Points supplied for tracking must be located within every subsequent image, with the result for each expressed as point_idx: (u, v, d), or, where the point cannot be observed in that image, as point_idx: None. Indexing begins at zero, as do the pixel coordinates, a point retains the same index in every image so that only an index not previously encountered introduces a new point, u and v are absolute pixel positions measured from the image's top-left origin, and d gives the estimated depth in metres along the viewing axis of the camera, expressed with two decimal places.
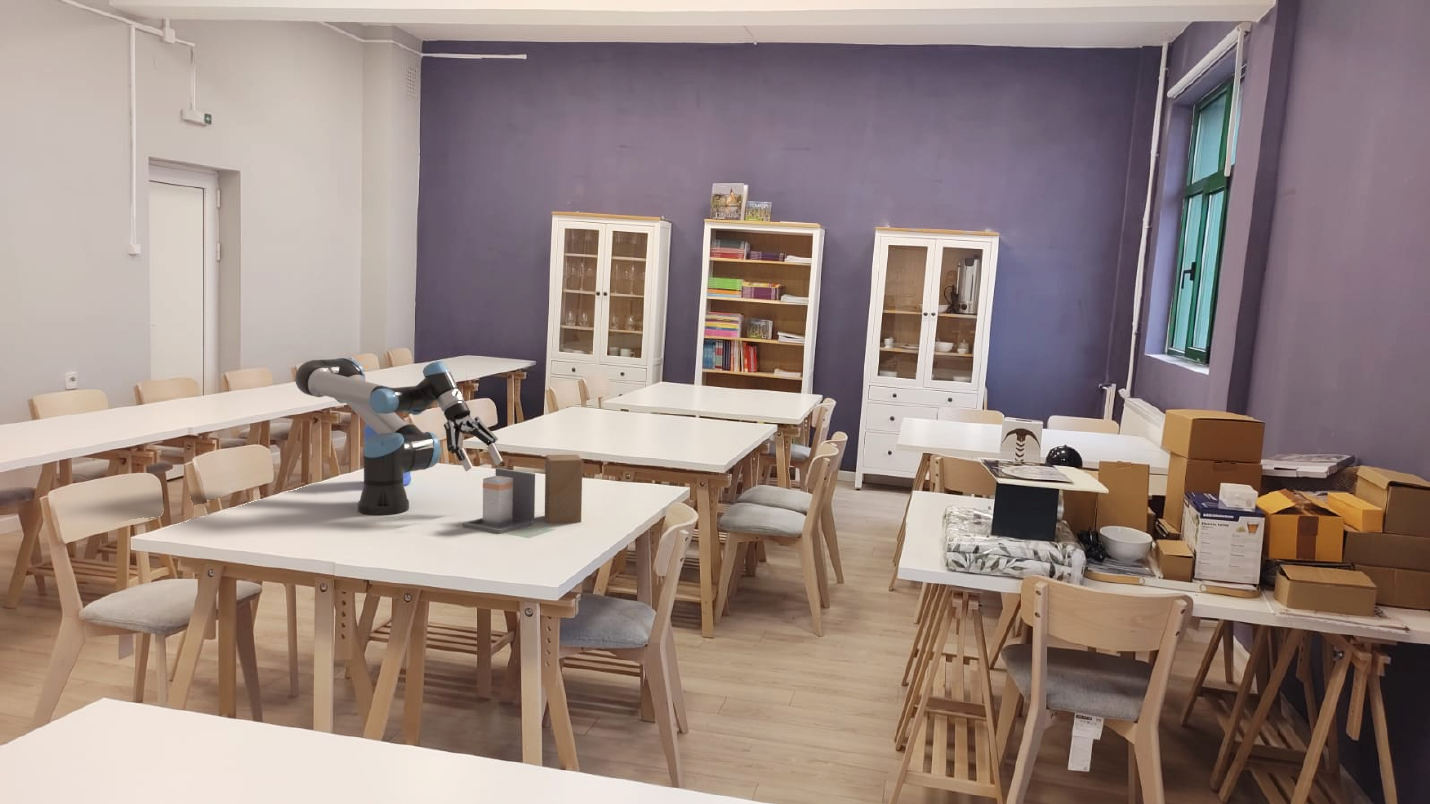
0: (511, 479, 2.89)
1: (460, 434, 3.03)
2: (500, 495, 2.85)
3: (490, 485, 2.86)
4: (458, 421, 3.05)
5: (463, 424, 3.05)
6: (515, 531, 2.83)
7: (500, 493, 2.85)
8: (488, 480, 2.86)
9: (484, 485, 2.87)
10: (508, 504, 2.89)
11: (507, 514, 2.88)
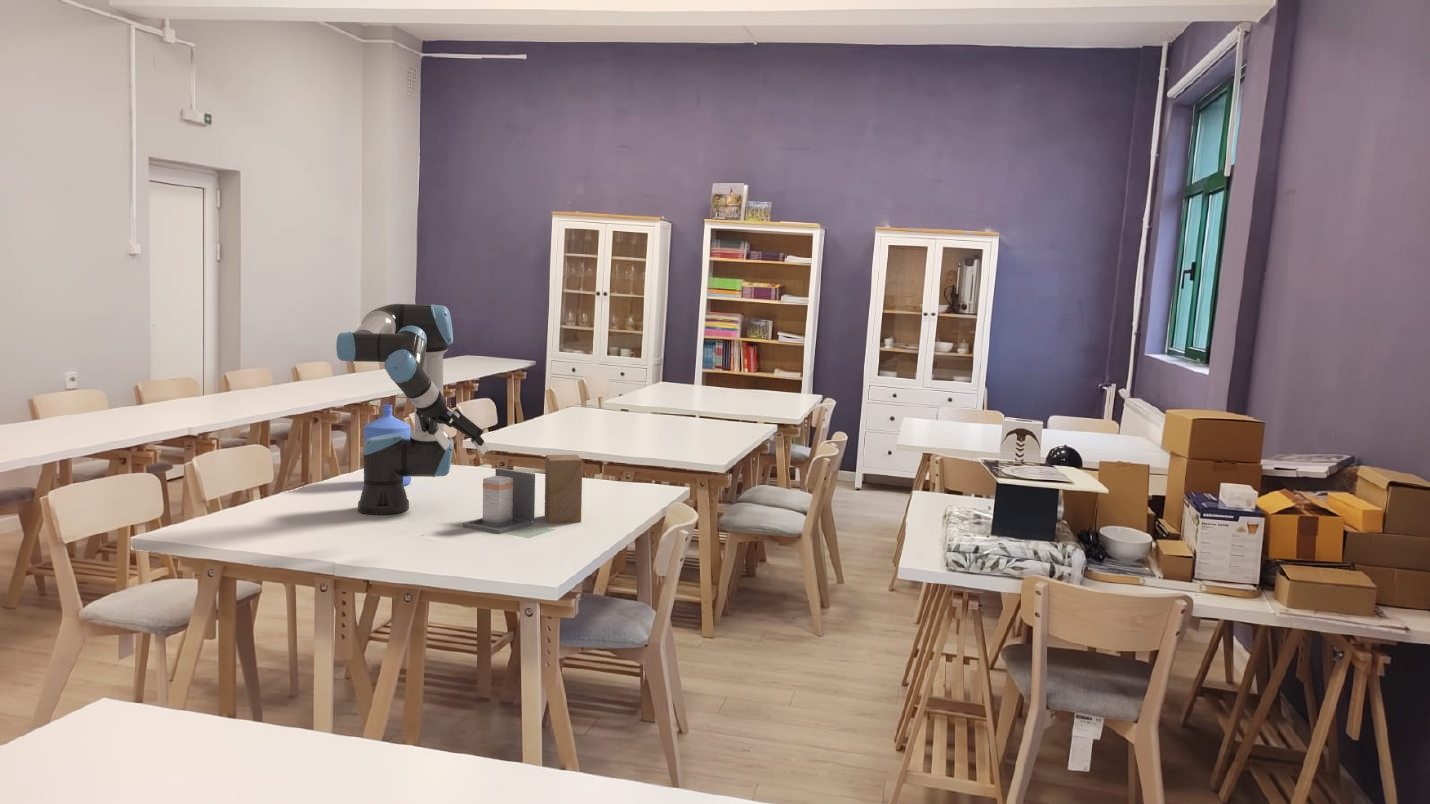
0: (511, 479, 2.89)
1: (431, 424, 2.69)
2: (500, 495, 2.85)
3: (490, 485, 2.86)
4: None
5: (431, 420, 2.65)
6: (515, 531, 2.83)
7: (500, 493, 2.85)
8: (488, 480, 2.86)
9: (484, 485, 2.87)
10: (508, 504, 2.89)
11: (507, 514, 2.88)
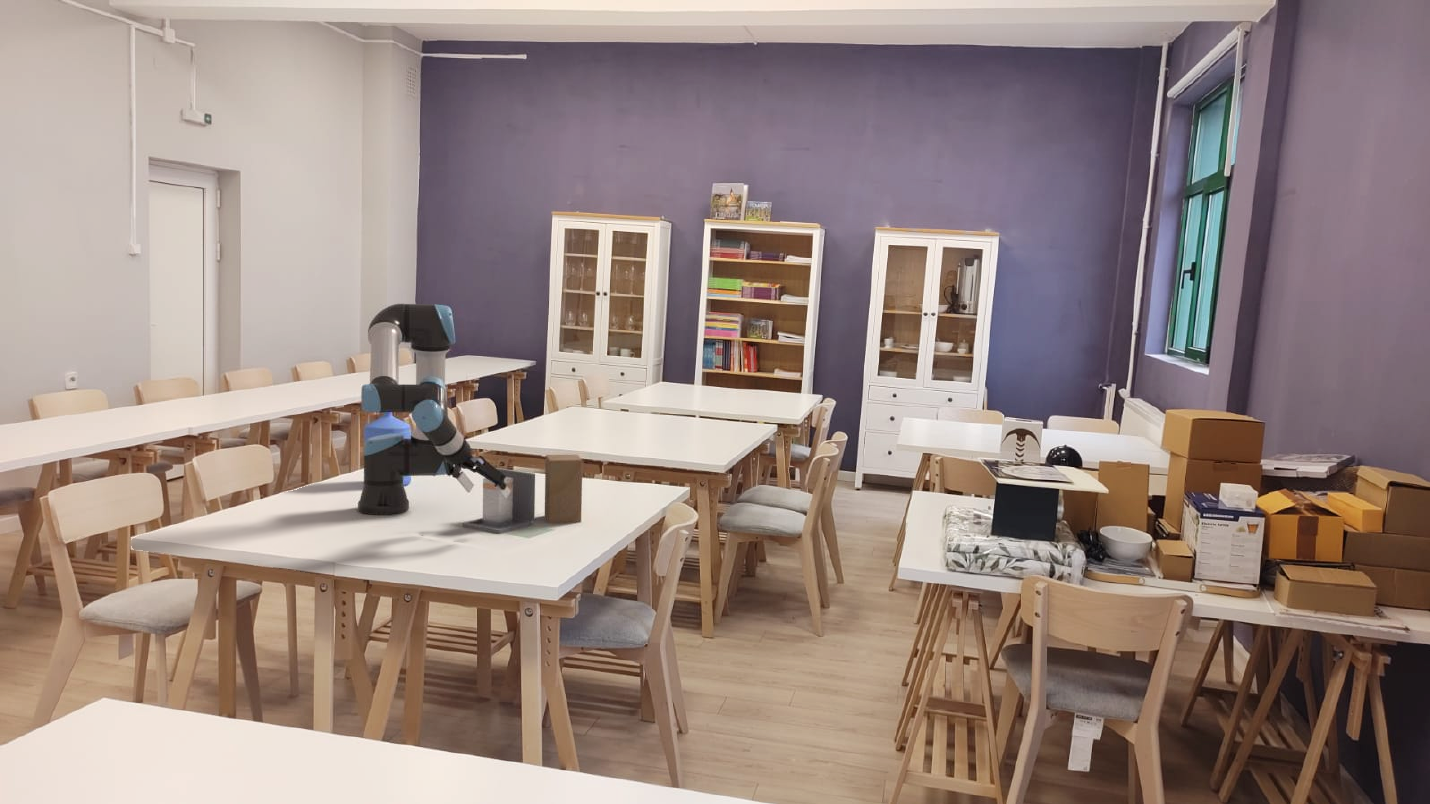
0: (511, 479, 2.89)
1: (455, 469, 2.78)
2: (500, 495, 2.85)
3: (490, 485, 2.86)
4: None
5: (456, 466, 2.74)
6: (515, 531, 2.83)
7: None
8: (488, 480, 2.86)
9: (484, 485, 2.87)
10: (508, 504, 2.89)
11: (507, 514, 2.88)
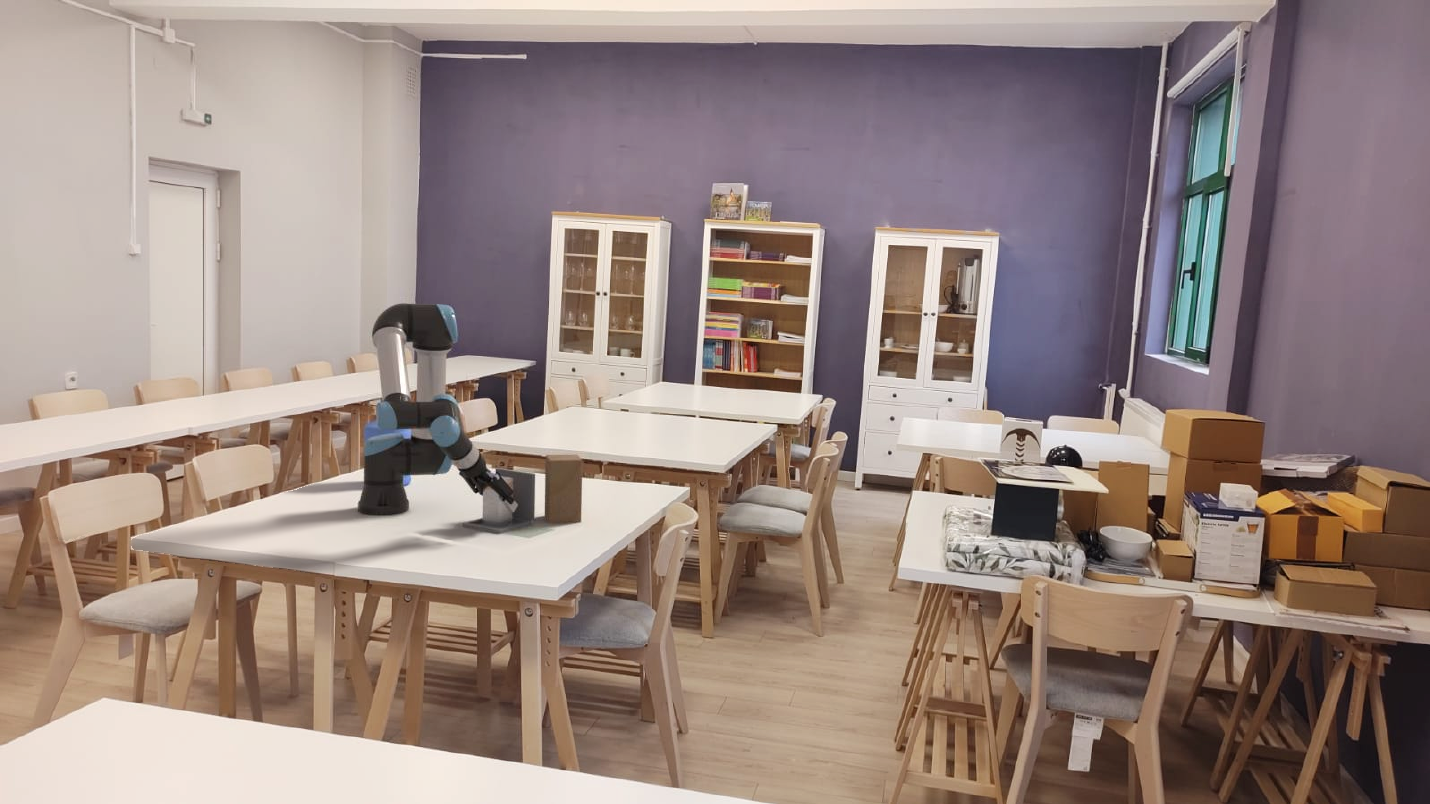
0: (511, 479, 2.89)
1: (476, 485, 2.85)
2: None
3: None
4: None
5: (472, 479, 2.81)
6: (515, 531, 2.83)
7: None
8: None
9: (484, 485, 2.87)
10: None
11: (507, 514, 2.88)
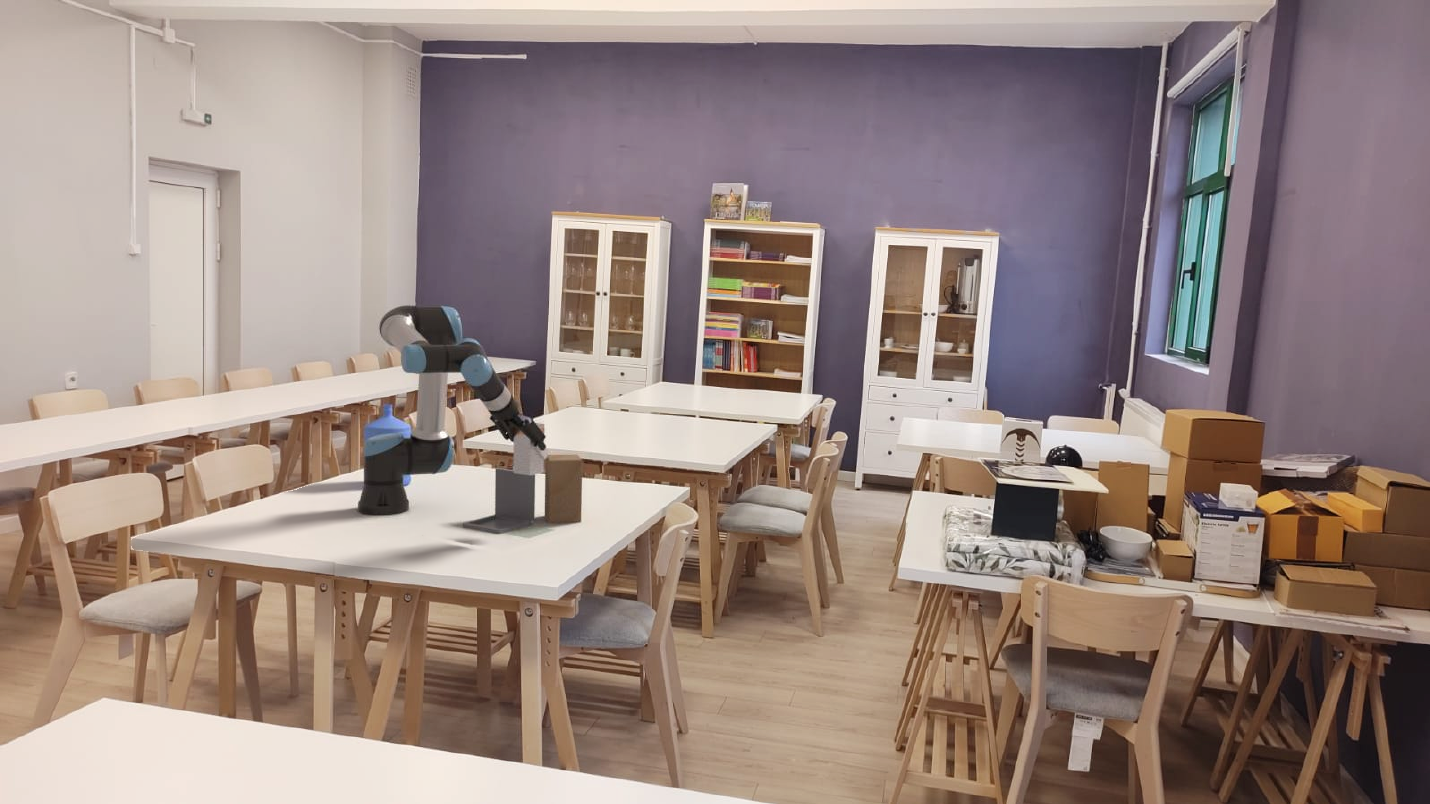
0: (542, 425, 2.81)
1: (507, 430, 2.77)
2: None
3: (521, 431, 2.78)
4: None
5: (504, 423, 2.74)
6: (515, 531, 2.83)
7: None
8: None
9: (515, 431, 2.79)
10: None
11: (538, 461, 2.81)
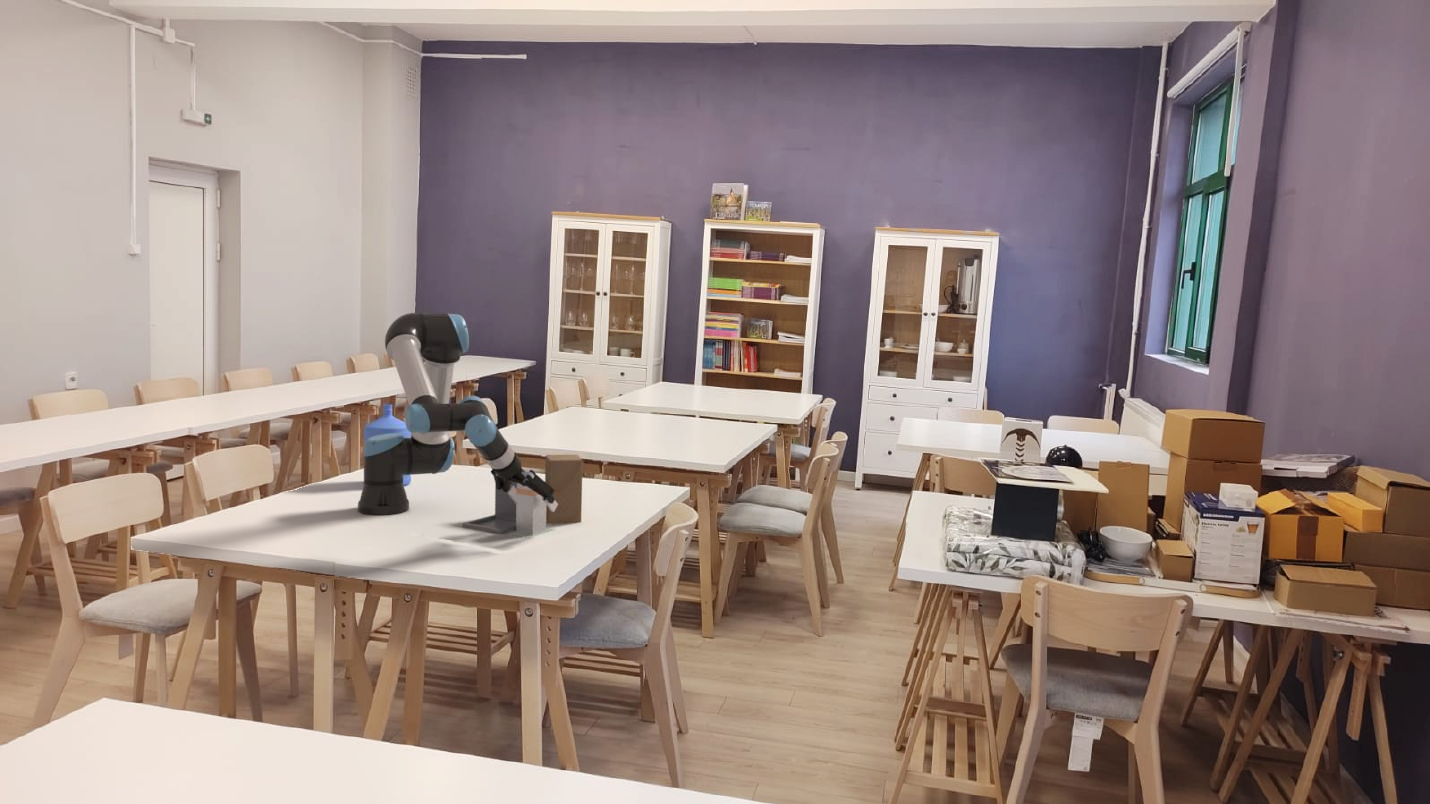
0: None
1: (505, 483, 2.79)
2: (534, 500, 2.79)
3: (524, 491, 2.80)
4: None
5: (506, 479, 2.75)
6: (515, 531, 2.83)
7: (535, 499, 2.79)
8: None
9: (518, 490, 2.81)
10: (542, 510, 2.83)
11: (541, 520, 2.83)
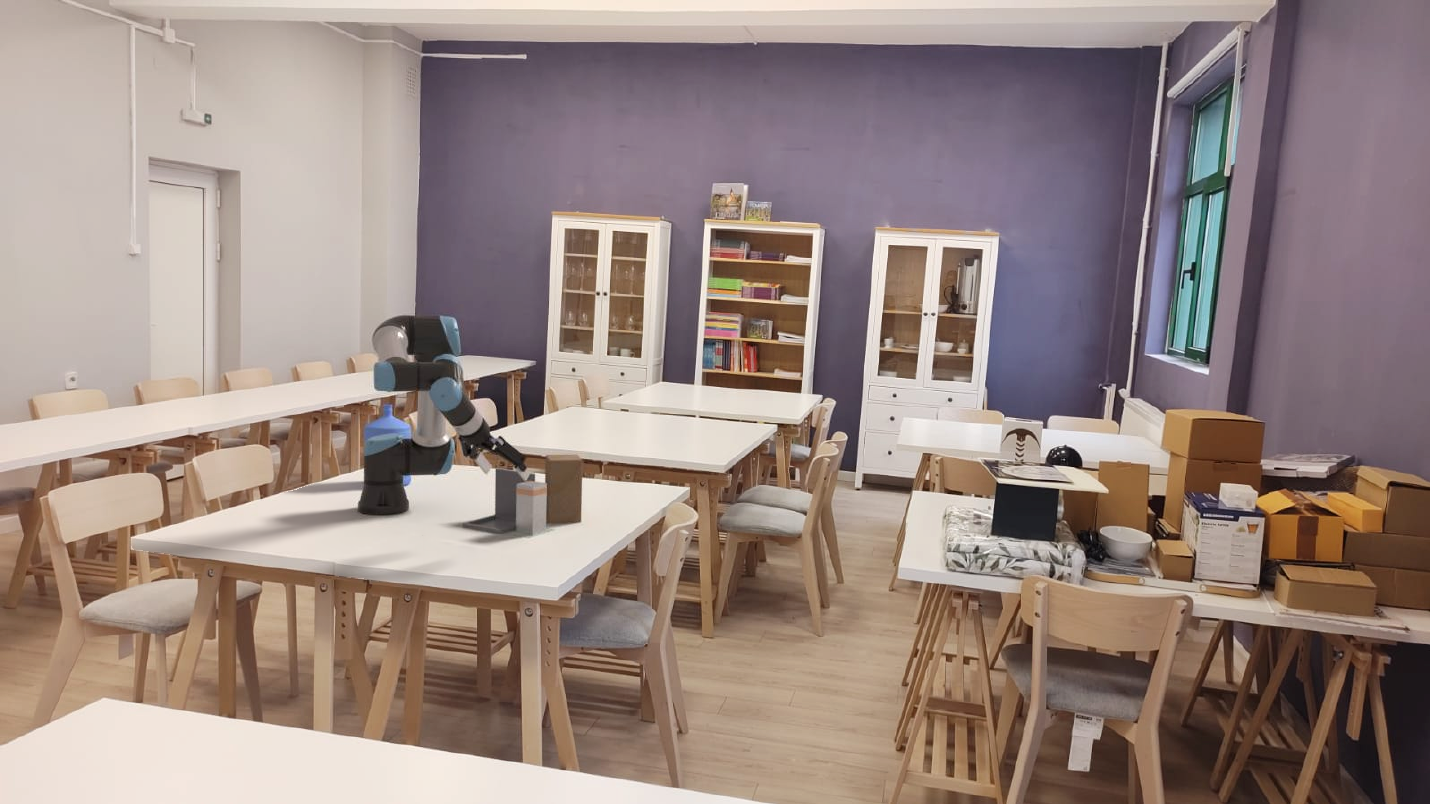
0: (545, 484, 2.83)
1: (473, 450, 2.66)
2: (534, 500, 2.79)
3: (524, 491, 2.80)
4: None
5: (474, 446, 2.62)
6: (515, 531, 2.83)
7: (535, 499, 2.79)
8: (522, 485, 2.80)
9: (518, 490, 2.81)
10: (542, 510, 2.83)
11: (541, 520, 2.83)
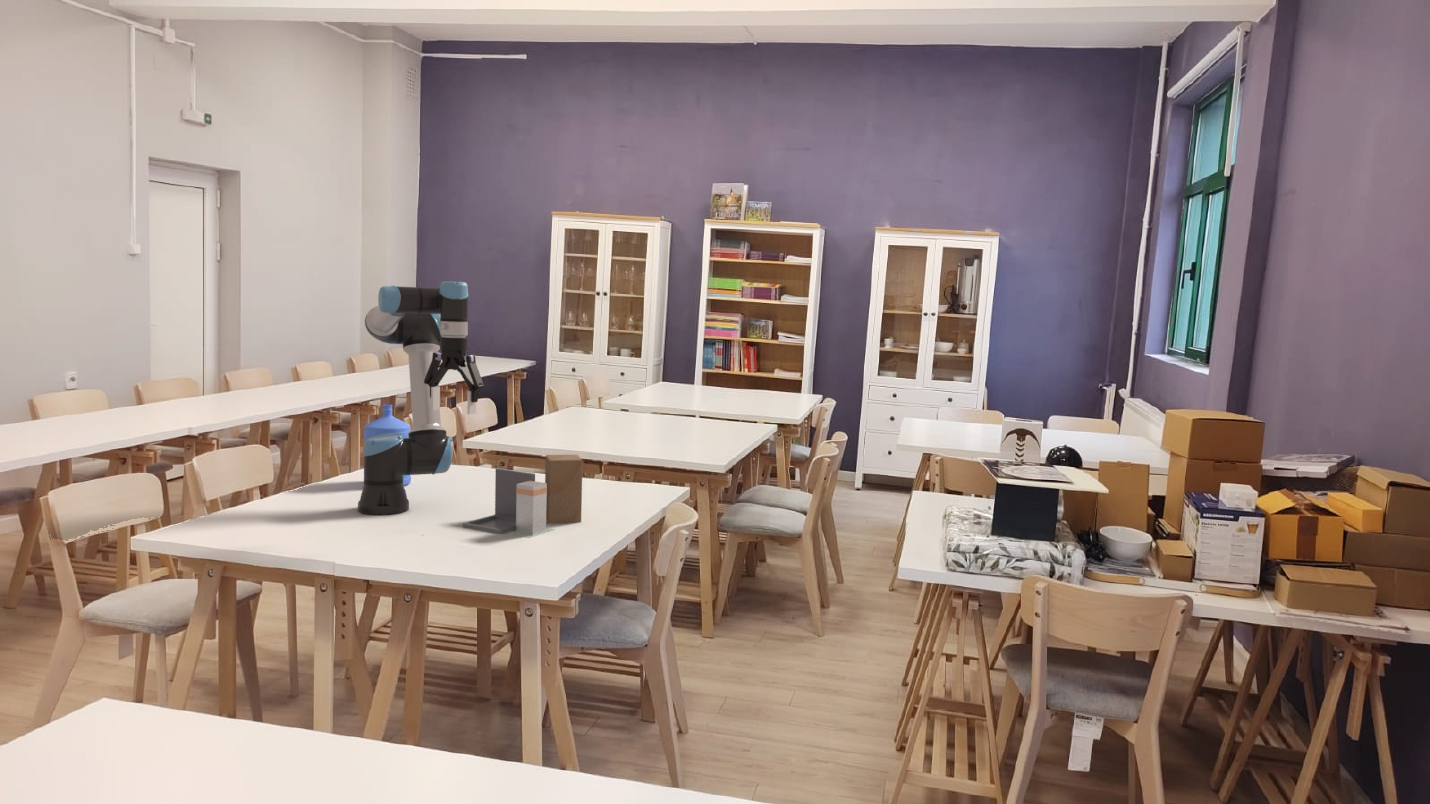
0: (545, 484, 2.83)
1: (438, 371, 2.81)
2: (534, 500, 2.79)
3: (524, 491, 2.80)
4: (444, 356, 2.80)
5: (443, 361, 2.79)
6: (515, 531, 2.83)
7: (535, 499, 2.79)
8: (522, 485, 2.80)
9: (518, 490, 2.81)
10: (542, 510, 2.83)
11: (541, 520, 2.83)
